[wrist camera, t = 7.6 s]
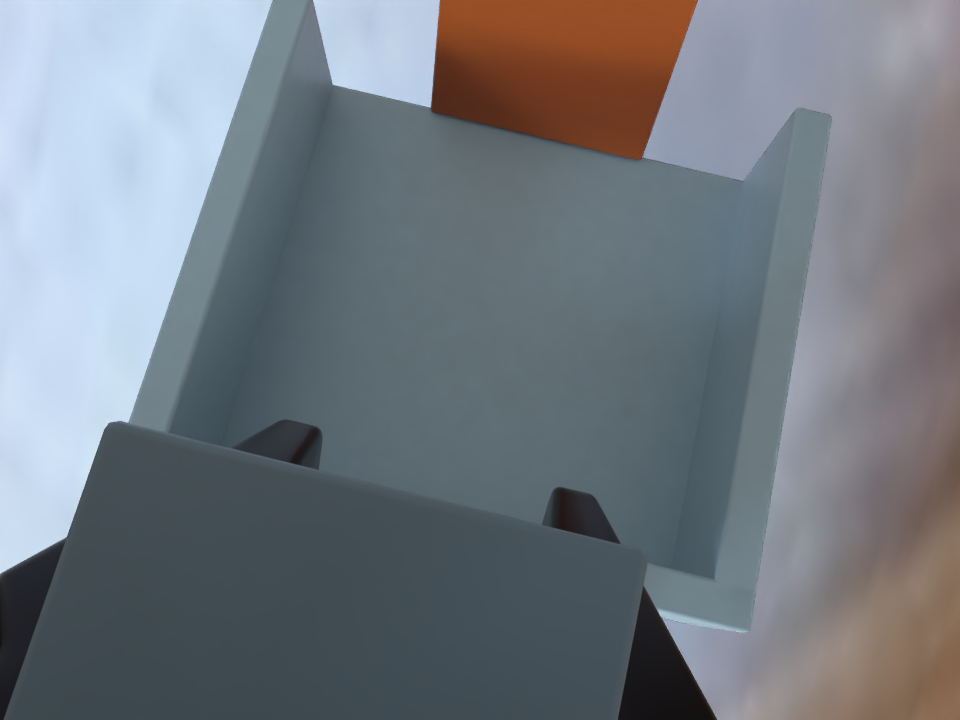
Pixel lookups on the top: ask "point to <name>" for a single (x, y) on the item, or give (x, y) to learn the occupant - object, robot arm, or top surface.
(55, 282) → the top surface
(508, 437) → the pale blue channel tray
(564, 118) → the block
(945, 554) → the top surface
